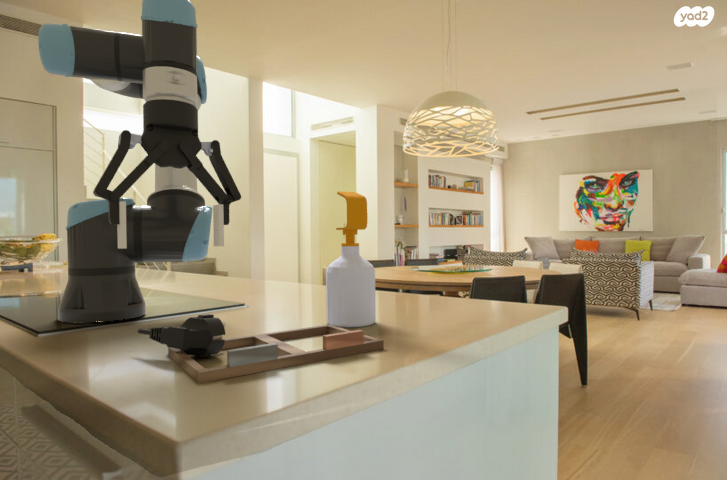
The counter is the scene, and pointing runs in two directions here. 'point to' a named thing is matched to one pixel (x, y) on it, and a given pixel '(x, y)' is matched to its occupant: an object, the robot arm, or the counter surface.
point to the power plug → (192, 335)
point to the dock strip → (277, 351)
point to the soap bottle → (351, 274)
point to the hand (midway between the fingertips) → (173, 247)
